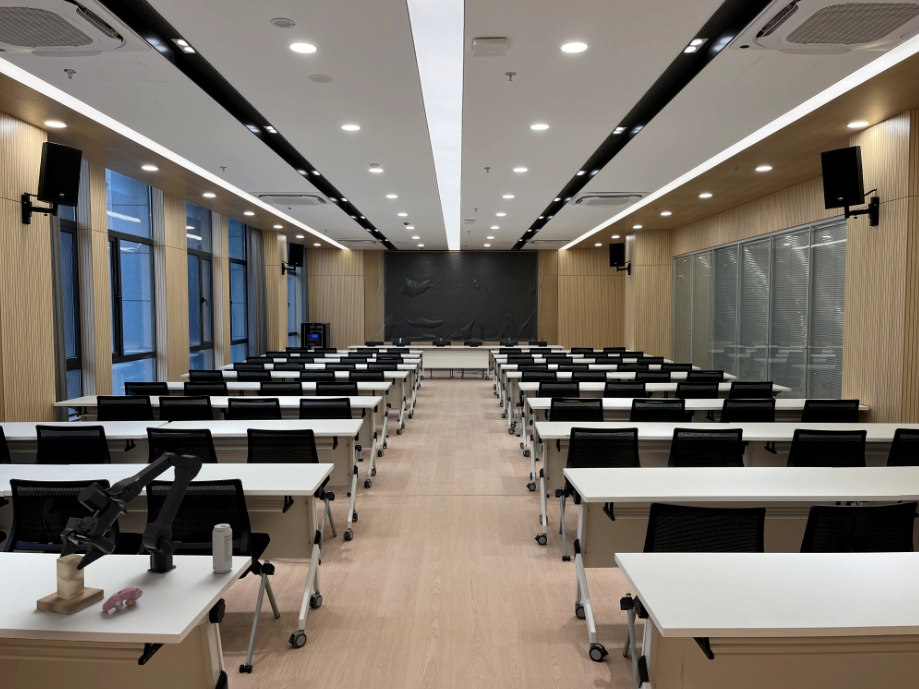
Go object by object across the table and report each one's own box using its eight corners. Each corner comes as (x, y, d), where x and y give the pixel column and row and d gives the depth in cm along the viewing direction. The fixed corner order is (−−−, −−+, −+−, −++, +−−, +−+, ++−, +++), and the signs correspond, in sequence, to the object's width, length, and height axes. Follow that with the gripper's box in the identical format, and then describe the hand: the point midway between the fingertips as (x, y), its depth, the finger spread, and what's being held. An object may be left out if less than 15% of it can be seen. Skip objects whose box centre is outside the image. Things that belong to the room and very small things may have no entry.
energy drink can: (219, 566, 224) (218, 522, 223) (235, 568, 222) (235, 523, 222) (209, 573, 218) (208, 527, 217) (226, 574, 216) (225, 529, 216)
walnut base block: (103, 597, 198) (103, 589, 198) (69, 614, 187) (69, 605, 187) (72, 593, 202) (72, 584, 202) (36, 609, 190) (36, 600, 190)
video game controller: (108, 620, 187) (114, 600, 185) (99, 609, 189) (105, 590, 187) (140, 607, 195) (147, 588, 193) (132, 597, 197) (138, 578, 196)
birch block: (74, 590, 197) (73, 553, 197) (84, 593, 195) (83, 556, 195) (57, 596, 193) (56, 558, 193) (67, 599, 191) (66, 561, 190)
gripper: (66, 501, 202) (28, 548, 192) (104, 509, 193) (67, 558, 184) (91, 520, 209) (56, 566, 200) (129, 528, 200) (95, 577, 191)
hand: (68, 566), depth 193 cm, fingers open, 9 cm apart
